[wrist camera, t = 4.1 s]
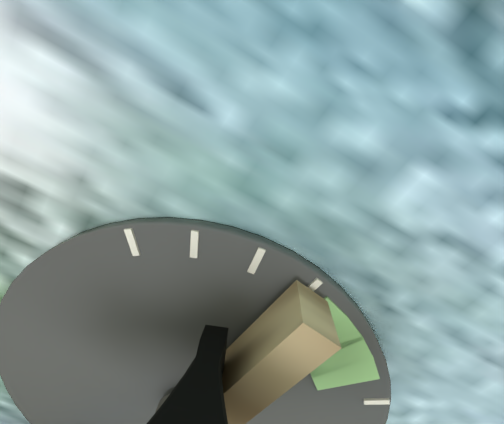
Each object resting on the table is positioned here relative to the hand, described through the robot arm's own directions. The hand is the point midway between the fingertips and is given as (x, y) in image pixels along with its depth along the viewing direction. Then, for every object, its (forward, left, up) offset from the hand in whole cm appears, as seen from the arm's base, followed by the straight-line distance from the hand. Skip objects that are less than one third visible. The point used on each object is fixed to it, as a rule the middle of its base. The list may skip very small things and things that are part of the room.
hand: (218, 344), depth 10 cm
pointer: (-2, -1, -1) cm, 2 cm away
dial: (-6, +1, -2) cm, 6 cm away
